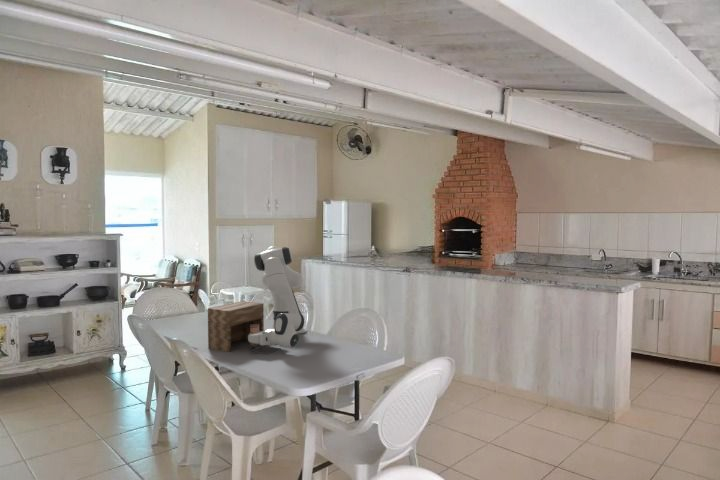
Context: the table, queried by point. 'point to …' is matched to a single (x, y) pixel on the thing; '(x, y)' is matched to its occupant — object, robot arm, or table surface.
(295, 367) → the table surface
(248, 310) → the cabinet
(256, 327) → the canister
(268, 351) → the mat
